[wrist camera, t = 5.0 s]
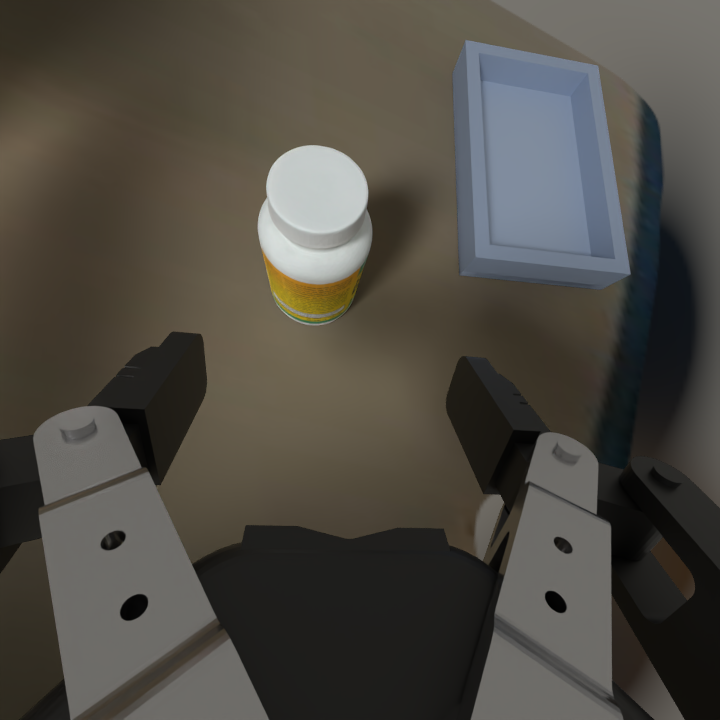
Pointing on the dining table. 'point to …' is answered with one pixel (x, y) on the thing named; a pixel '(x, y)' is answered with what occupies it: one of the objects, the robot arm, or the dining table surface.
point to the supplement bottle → (315, 232)
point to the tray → (534, 171)
